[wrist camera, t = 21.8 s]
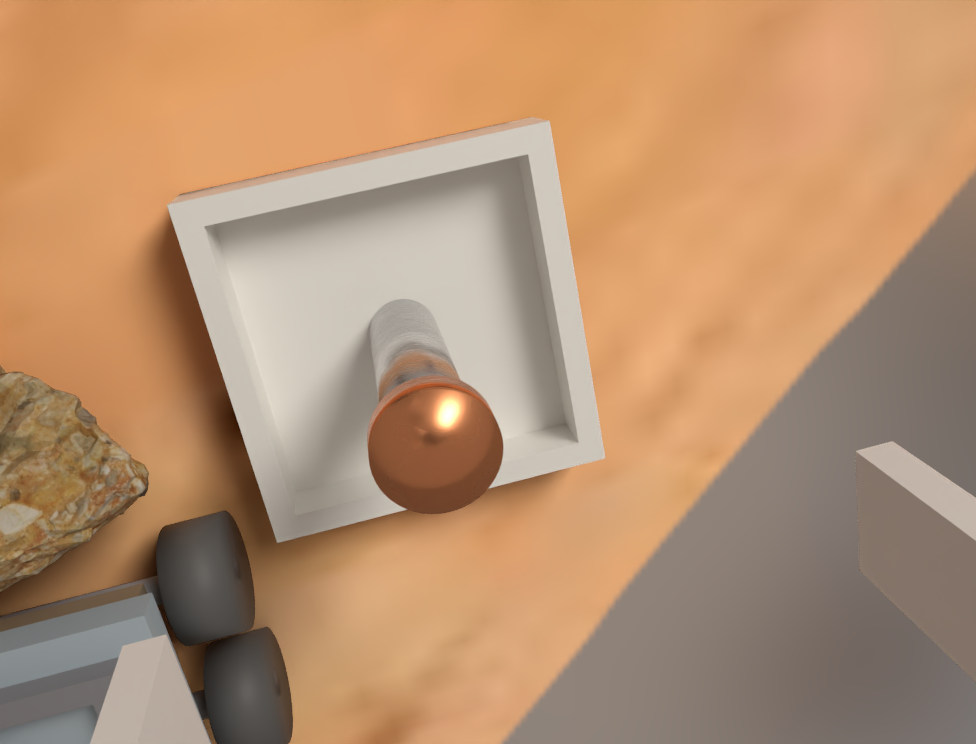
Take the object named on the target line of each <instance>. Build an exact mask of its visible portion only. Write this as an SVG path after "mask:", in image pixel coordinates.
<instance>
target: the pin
mask: <svg viewBox="0 0 976 744" xmlns="http://www.w3.org/2000/svg"><path fill="white" fill-rule="evenodd" d="M369 336H370V343H371V350H372V357H373V364H374V371H375V378H376V385H377V392H378V399H379V404H378V405H377V407H376V408H375V410H374V412H373V414H372V416H371V418H370V422H369V425H368V431H367V447H368V457H369V465H370V469H371V473H372V476H373V478H374V480H375V482H376V484H377V485H378V487H379V488H380V490H381V491H382V492H383V493H384V494H385V495H386V496H387V497H388V498H389V499H390V500H391V501H393V502H394V503H396V504H397V505H399V506H401V507H403V508H405V509H408V510H411V511H414V512H419V513H426V514H440V513H446V512H451V511H454V510H457V509H460V508H462V507H465V506H466V505H468V504H470V503H472V502H473V501H475V500H476V499H477V498H479V497H480V496H481V495H482V494H483V493H484V492H485V491H486V490H487V489H488V488H489V487H490V485H491V484H492V483H493V481H494V479H495V478H496V476H497V474H498V472H499V469H500V466H501V463H502V458H503V438H502V434H501V430H500V428H499V425H498V423H497V421H496V419H495V417H494V414H493V412H492V410H491V408H490V406H489V405H488V403H487V401H486V400H485V399H484V397H483V396H482V395H481V394H480V393H479V392H478V391H477V390H476V389H474V388H473V387H472V386H470V385H468V384H467V383H465V382H463V381H461V380H460V378H459V375H458V373H457V371H456V368H455V366H454V363H453V361H452V359H451V356H450V354H449V351H448V349H447V347H446V344H445V342H444V339H443V337H442V335H441V332H440V330H439V327H438V325H437V323H436V320H435V318H434V316H433V314H432V313H431V312H430V310H429V309H428V308H427V307H426V306H424V305H423V304H421V303H419V302H417V301H414V300H410V299H398V300H394V301H391V302H388V303H387V304H385V305H383V306H382V307H381V308H380V309H379V310H378V311H377V312H376V313H375V315H374V316H373V318H372V321H371V324H370V329H369Z"/></svg>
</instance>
